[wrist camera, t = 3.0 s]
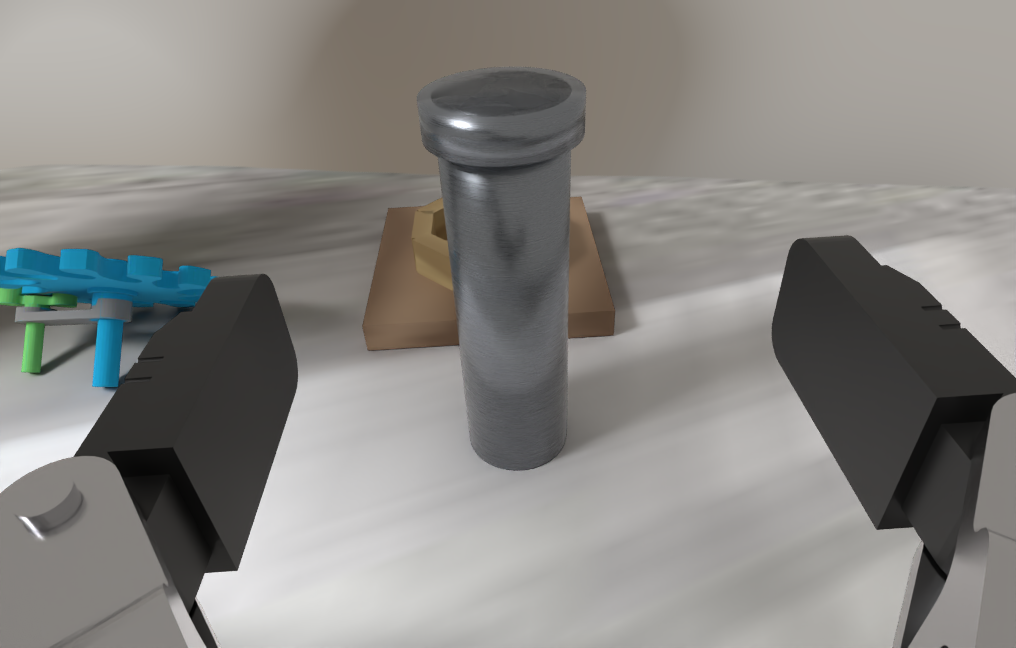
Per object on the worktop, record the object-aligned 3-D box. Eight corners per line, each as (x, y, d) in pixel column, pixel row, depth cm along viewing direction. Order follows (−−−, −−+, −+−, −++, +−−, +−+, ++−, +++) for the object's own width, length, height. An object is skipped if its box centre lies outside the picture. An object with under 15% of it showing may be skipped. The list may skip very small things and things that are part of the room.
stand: (367, 350, 32) (354, 291, 30) (392, 229, 41) (383, 178, 39) (613, 335, 32) (617, 275, 30) (580, 218, 41) (582, 166, 39)
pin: (459, 482, 25) (410, 127, 17) (461, 396, 29) (421, 71, 20) (583, 474, 25) (598, 116, 17) (568, 389, 29) (574, 62, 20)
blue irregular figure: (271, 277, 34) (114, 224, 25) (265, 389, 34) (100, 379, 24) (102, 287, 37) (-99, 242, 28) (92, 391, 36) (-118, 383, 27)
